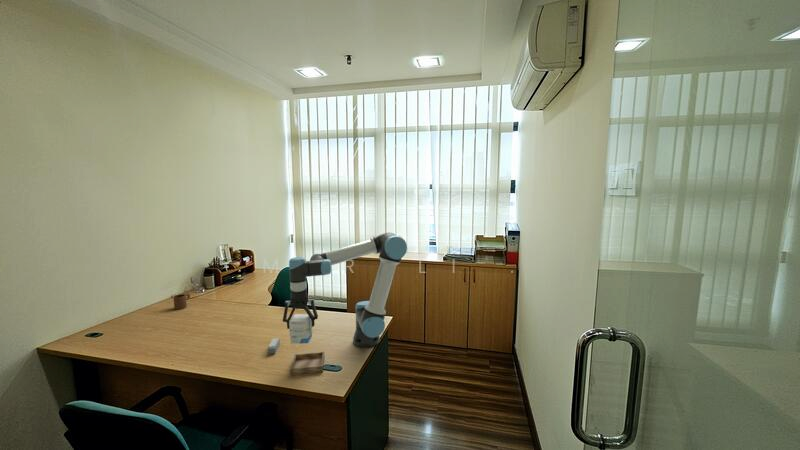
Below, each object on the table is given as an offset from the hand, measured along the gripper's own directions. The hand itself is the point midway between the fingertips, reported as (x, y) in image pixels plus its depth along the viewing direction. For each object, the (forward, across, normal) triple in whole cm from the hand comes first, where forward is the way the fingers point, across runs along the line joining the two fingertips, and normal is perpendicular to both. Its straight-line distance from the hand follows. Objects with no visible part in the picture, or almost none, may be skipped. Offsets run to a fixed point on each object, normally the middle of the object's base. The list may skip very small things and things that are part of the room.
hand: (301, 333), depth 154 cm
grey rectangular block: (+16, +18, -18) cm, 30 cm away
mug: (+14, +101, -95) cm, 139 cm away
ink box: (+3, 0, 0) cm, 3 cm away
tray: (+16, -3, +2) cm, 16 cm away
